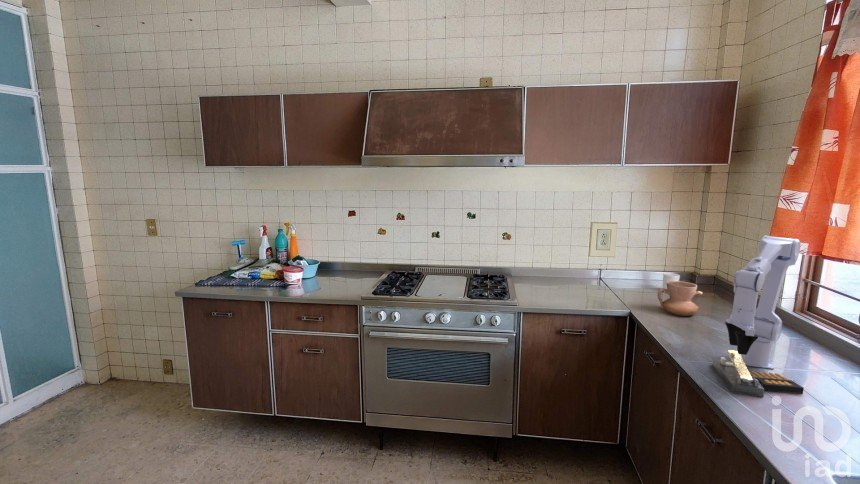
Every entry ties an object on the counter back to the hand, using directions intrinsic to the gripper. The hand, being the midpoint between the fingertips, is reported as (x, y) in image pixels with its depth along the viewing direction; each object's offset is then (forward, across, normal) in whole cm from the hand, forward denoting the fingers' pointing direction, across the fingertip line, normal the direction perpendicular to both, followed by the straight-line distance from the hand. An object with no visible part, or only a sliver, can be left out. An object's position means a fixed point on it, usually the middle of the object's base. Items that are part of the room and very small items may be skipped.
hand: (737, 349), depth 135 cm
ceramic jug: (+10, -65, -3) cm, 66 cm away
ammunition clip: (+8, +6, +11) cm, 15 cm away
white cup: (+10, -103, +1) cm, 103 cm away
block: (+9, +2, 0) cm, 10 cm away
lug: (+7, -3, 0) cm, 8 cm away
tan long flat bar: (+5, +3, 0) cm, 6 cm away
